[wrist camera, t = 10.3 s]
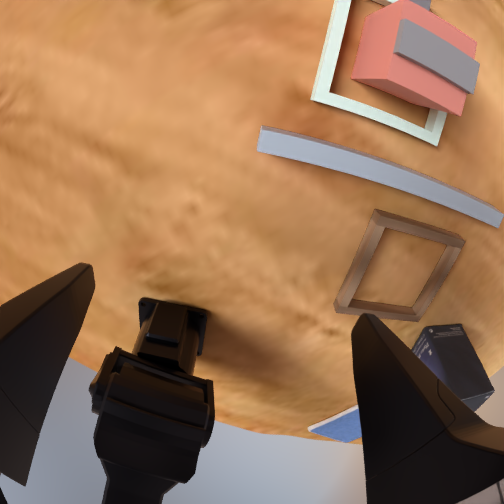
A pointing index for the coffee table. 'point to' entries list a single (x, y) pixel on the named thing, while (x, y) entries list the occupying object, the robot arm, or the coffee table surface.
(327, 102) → the socket
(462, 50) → the block
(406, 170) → the door edge rail
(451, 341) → the small box
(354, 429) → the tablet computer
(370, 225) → the frame
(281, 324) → the coffee table surface
